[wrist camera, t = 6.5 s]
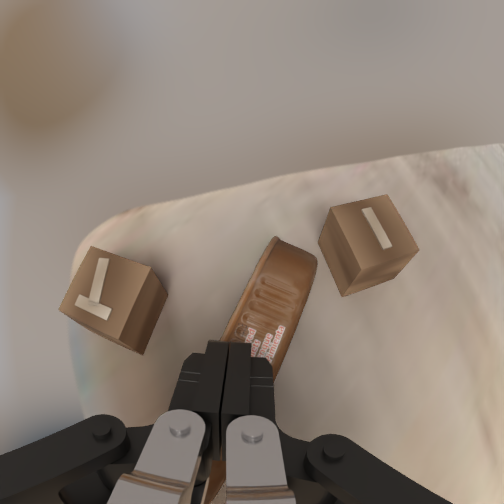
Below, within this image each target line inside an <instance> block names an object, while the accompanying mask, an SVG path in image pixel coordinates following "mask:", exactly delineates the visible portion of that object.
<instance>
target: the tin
mask: <svg viewBox="0 0 504 504" xmlns="http://www.w3.org/2000/svg"><path fill="white" fill-rule="evenodd" d="M316 270H317V258H316V257H315V256H314V255H312V254H310V253H308V252H306V251H304V250H302V249H300V248H298V247H295V246H293V245H291V244H288V243H286V242H284V241H281V240H280V239H279V238H278V237H277V236H274V237H273V238H272V240H271V241H270V242H269V244H268V246H267V247H266V249H265V251H264V253H263V254H262V257H261V258H260V260H259V262H258V264H257V266H256V268H255V270H254V272H253V274H252V276H251V278H250V280H249V282H248V284H247V286H246V288H245V290H244V292H243V294H242V296H241V298H240V300H239V302H238V304H237V306H236V309H235V311H234V313H233V314H232V316H231V318H230V320H229V322H228V325H227V327H226V329H225V331H224V333H223V335H222V337H221V339H220V341H226V342H229V344H230V345H231V342H244V343H251V357H265V358H267V360H268V361H269V363H270V364H271V365H272V368H273V383H274V380H275V378H276V376H277V374H278V371H279V369H280V366H281V364H282V362H283V359H284V357H285V355H286V352H287V350H288V347H289V345H290V342H291V340H292V338H293V335H294V333H295V330H296V327H297V325H298V322H299V319H300V317H301V314H302V312H303V309H304V306H305V304H306V301H307V298H308V296H309V293H310V290H311V287H312V284H313V281H314V277H315V274H316ZM229 352H230V348H229ZM225 480H226V461H222V447H221V455H220V461H215V460H212V466H211V472H210V475H209V484H208V488H207V492H206V496H205V500H204V504H210V502H211V501H212V500H213V498H214V497H215V496H216V494H217V493H218V491H219V490H220V488H221V486H222V485H223V483H224V481H225Z"/></svg>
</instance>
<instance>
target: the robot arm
mask: <svg viewBox="0 0 504 504" xmlns="http://www.w3.org/2000/svg"><path fill="white" fill-rule="evenodd" d="M229 348H230V352H229ZM221 447H222V461H226V502H227V504H453V503H451V502H449V501H447V500H445V499H444V498H442V497H440V496H438V495H437V494H435V493H433V492H431V491H430V490H428V489H426V488H425V487H423V486H421V485H419V484H418V483H416V482H414V481H413V480H411V479H410V478H408V477H406V476H405V475H403V474H401V473H400V472H398V471H397V470H395V469H393V468H392V467H390V466H389V465H387V464H386V463H384V462H383V461H381V460H379V459H378V458H376V457H375V456H373V455H372V454H370V453H369V452H367V451H366V450H364V449H363V448H361V447H360V446H359V445H357V444H356V443H354V442H353V441H351V440H350V439H348V438H346V437H344V436H341V435H336V434H326V435H322V436H319V437H317V438H315V439H314V440H312V441H311V442H307V441H303V440H299V439H295V438H292V437H290V436H288V435H286V434H285V433H283V432H282V431H281V430H280V429H279V427H278V426H277V424H276V420H275V405H274V388H273V368H272V365H271V364H270V363H269V361H268V360H267V358H265V357H251V343H244V342H231V345H230V344H229V342H226V341H212V340H209V341H208V344H207V348H206V352H205V354H201V353H192V354H191V355H190V356H189V357H188V358H187V359H186V360H185V361H184V363H183V366H182V369H181V373H180V375H179V378H178V381H177V385H176V388H175V391H174V394H173V397H172V400H171V403H170V406H169V410H168V412H165V413H164V414H162V415H161V416H159V418H158V419H157V420H156V422H155V424H152V425H149V426H143V427H128V428H126V427H125V425H124V424H123V422H122V421H121V420H120V419H118V418H116V417H114V416H111V415H105V414H101V415H95V416H92V417H90V418H87V419H85V420H83V421H81V422H79V423H76V424H74V425H72V426H70V427H68V428H66V429H63V430H61V431H59V432H56V433H54V434H52V435H50V436H47V437H45V438H43V439H40V440H38V441H35V442H33V443H31V444H28V445H26V446H23V447H21V448H18V449H16V450H13V451H11V452H8V453H5V454H3V455H0V504H204V500H205V496H206V492H207V488H208V484H209V475H210V472H211V466H212V460H215V461H220V455H221Z"/></svg>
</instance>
